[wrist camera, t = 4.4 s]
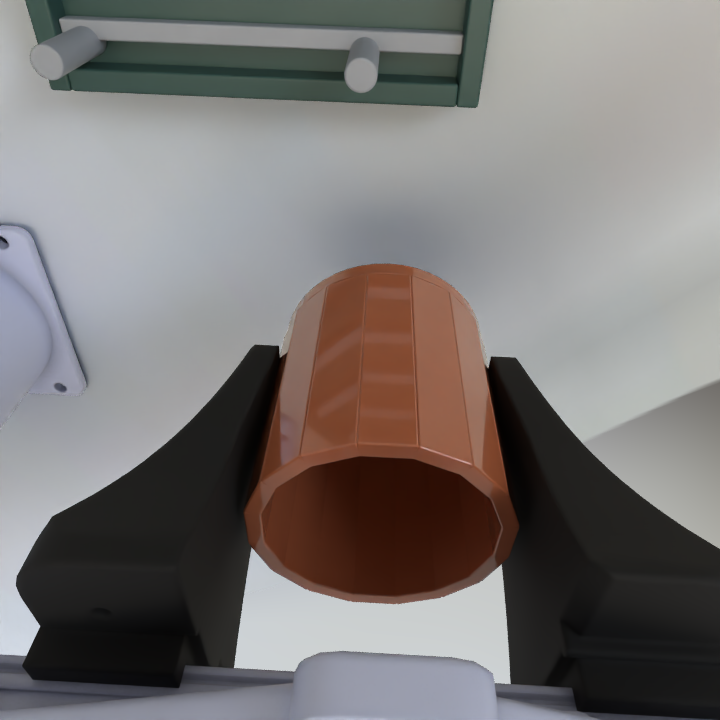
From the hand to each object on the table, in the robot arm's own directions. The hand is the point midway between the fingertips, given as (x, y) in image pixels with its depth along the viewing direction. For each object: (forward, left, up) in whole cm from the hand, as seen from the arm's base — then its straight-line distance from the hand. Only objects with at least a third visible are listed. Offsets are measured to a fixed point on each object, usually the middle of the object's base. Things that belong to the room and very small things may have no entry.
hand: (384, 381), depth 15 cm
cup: (0, 0, -1) cm, 1 cm away
